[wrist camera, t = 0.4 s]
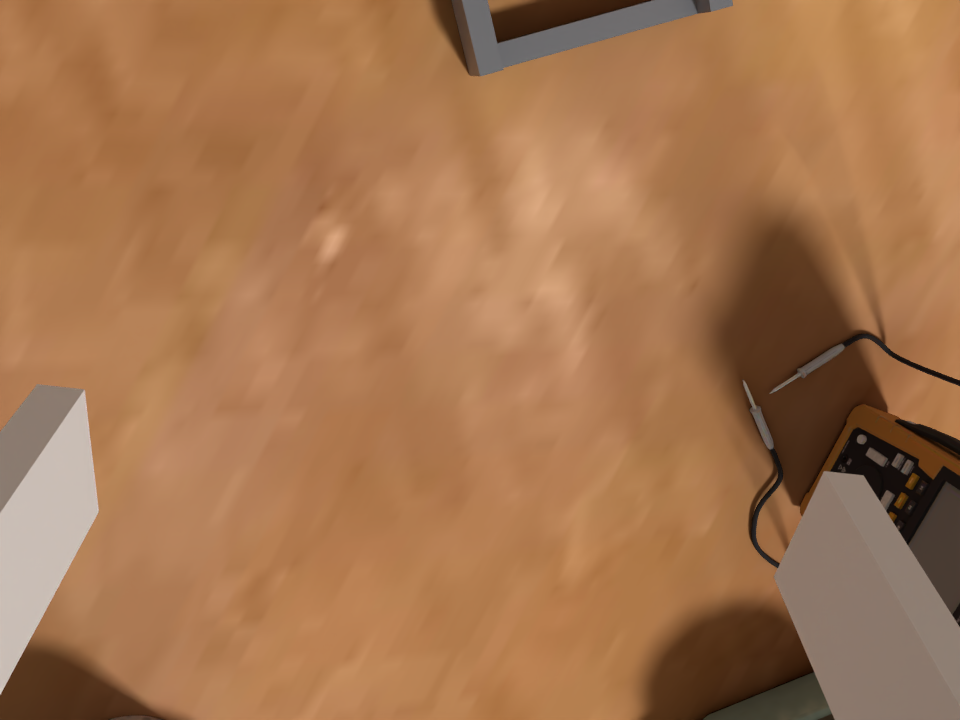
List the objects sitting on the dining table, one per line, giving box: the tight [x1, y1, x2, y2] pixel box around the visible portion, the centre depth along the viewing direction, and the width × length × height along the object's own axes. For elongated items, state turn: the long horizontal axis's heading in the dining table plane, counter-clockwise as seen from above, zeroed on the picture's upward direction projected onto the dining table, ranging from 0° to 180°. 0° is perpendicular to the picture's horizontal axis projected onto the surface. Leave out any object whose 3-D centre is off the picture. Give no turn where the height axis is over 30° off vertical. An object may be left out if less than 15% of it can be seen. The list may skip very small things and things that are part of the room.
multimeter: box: [743, 334, 960, 627], centre depth 37 cm, size 15×10×20 cm
